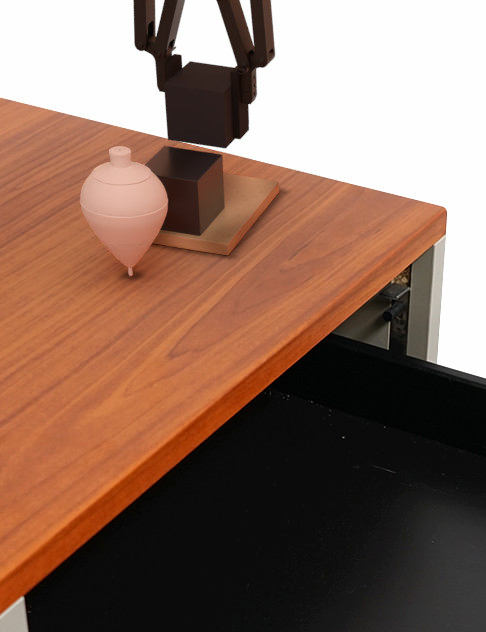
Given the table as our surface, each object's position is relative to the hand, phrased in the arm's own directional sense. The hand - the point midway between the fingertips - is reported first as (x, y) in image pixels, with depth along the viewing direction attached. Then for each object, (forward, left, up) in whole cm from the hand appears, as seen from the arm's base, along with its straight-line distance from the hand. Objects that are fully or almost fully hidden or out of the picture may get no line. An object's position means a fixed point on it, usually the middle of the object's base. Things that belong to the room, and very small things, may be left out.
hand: (209, 129), depth 138 cm
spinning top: (-1, -19, -7) cm, 20 cm away
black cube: (0, 0, 0) cm, 0 cm away
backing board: (0, -4, -7) cm, 8 cm away
